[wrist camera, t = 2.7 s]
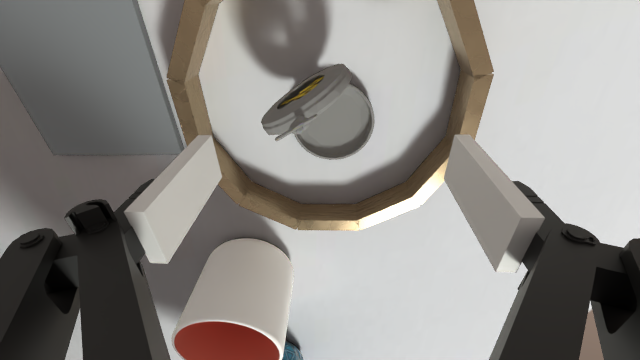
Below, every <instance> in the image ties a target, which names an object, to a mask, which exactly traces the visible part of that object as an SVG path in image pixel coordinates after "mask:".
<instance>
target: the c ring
mask: <svg viewBox="0 0 640 360" xmlns="http://www.w3.org/2000/svg"><path fill="white" fill-rule="evenodd" d="M222 1H223V0H185V1H184V5H183V10H182V14H181V18H180V22H179V27H178V31H177V35H176V39H175V44H174V48H173V52H172V56H171V61H170V65H169V69H168V73H167V78H169V79H168V80H167V83H168V86H169V89H170V92H171V96H172V99H173V102H174V105H175V109H176V112H177V115H178V118H179V122H180V125H181V128H182V131H183V135H184V138H185V141H186V144H187V146H188V145H189V144H190V143H191V142H192V141H193V140H194V139H195V138H196V137H197V136H198V135H212V139H213V143H214V147H215V151H216V155H217V159H218V163H219V167H220V171H221V174H222V178H221V180H220V181H219V183H218V185H219V186H220V187H221V188H222V189H223V190H224V191H225V192H226V193H227V194H228V195H229V197H230V198H231V199H232V200H233V201H234V202H235V203H236V204H238V203H239V206H241V207H243V208H246V209H248V210H251V211H253V212H255V213H258V214H260V215H262V216H265V217H267V218H270V219H272V220H274V221H277V222H279V223H281V224H284V225H286V226H288V227H291V228H293V229H297V227H298V230H359V228H360V230H362V229H365V228H367V227H370V226H372V225H374V224H377V223H379V222H382V221H384V220H387V219H389V218H392V217H394V216H397V215H399V214H401V213H404V212H406V211H409V210H411V209H414V208H416V207H419V204H421V205H422V204H423V203H424V202H425V201H426V200H427V199H428V197H429V196H430V195H431V194H432V193H433V192H434V191H435V190H436V189H437V188H438V187H439V186H440V185H441V184H442V183H443V182H444V181H445V180H444V175H445V171H446V167H447V163H448V159H449V155H450V151H451V147H452V143H453V139H454V135H470V136H471V137H472V138H473V139H474V140H475V137H476V133H477V130H478V127H479V123H480V120H481V116H482V113H483V109H484V106H485V103H486V99H487V96H488V92H489V89H490V85H491V82H492V79H493V75H494V74H492V72H494V70H493V67H492V63H491V60H490V56H489V53H488V49H487V46H486V42H485V39H484V35H483V31H482V28H481V24H480V21H479V17H478V14H477V10H476V7H475V3H474V0H437V1H438V4H439V7H440V10H441V13H442V16H443V19H444V22H445V25H446V28H447V31H448V34H449V37H450V40H451V43H452V46H453V49H454V52H455V54H456V57H457V60H458V63H459V66H460V69H461V70H460V75H459V79H458V84H457V88H456V92H455V97H454V101H453V105H452V110H451V114H450V119H449V123H448V127H447V132H446V136H445V137H444V138H443V139H442V141H441V142H440V143H439V144H438V145H437V146H436V148H435V149H434V150H433V151H432V152H431V153H430V155H429V156H428V157H427V158H426V159H425V160H424V161H423V163H422V164H421V165H420V166H419V167H418V168H417V170H416V171H415V172H414V173H413V174H412V175H411V177H410V178H409V179H408V180H407V181H406V182H404V183H402V184H400V185H397V186H395V187H393V188H391V189H388V190H386V191H384V192H382V193H379V194H377V195H375V196H373V197H370V198H368V199H366V200H364V201H361V202H359V203H357V204H301V203H298V202H296V201H294V200H292V199H289V198H287V197H285V196H283V195H281V194H278V193H276V192H274V191H272V190H269V189H267V188H265V187H263V186H260V185H258V184H256V183H254V182H252V181H251V180H250V179H249V178H248V177H247V175H246V174H245V173H244V172H243V171H242V170H241V168H240V167H239V166H238V165H237V164H236V163H235V162H234V160H233V159H232V158H231V157H230V156H229V155H228V154H227V152H226V151H225V150H224V149H223V148H222V147H221V145H220V144H219V143H218V142H217V141H216V140H215V139H214V136H213V132H212V128H211V124H210V120H209V116H208V112H207V108H206V104H205V100H204V96H203V92H202V88H201V84H200V80H199V76H198V74H199V70H200V67H201V63H202V60H203V57H204V53H205V50H206V46H207V43H208V40H209V36H210V33H211V29H212V26H213V23H214V19H215V16H216V12H217V9H218V5H219V3H221V2H222Z"/></svg>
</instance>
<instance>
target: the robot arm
mask: <svg viewBox="0 0 640 360" xmlns="http://www.w3.org/2000/svg"><path fill="white" fill-rule="evenodd" d="M221 178H222V174H221V171H220V167H219V163H218V159H217V155H216V151H215V147H214V143H213V139H212V135H198V136H197V137H196V138H195V139H194V140H193V141H192V142H191V143H190V144H189V145H188V146H187V147H186V148H185V149H184V150H183V151H182V152H181V153H180V154H179V155H178V156H177V157H176V158H175V159H174V160H173V161H172V163H171V164H170V165H169V166H168V167H167V168H166V169H165V170H164V171H163V172H162V173H161V174H160V175H159V176H158V177H157V178H156V179H151V180H150V181H148V182H146V183H145V184H143V185H141V186H140V187H139V188H138V189H137V190H136V191H135V193H134V194H132V195H131V196H130V197H129V199H127V200H126V201H125V202H124V203H123V204H122V205H121V206H120V207H119V208H118V209H117V210H116V211H115V212H114V213H113V211H112V209H111V207H110V205H109V204H108V202H107V201H105V200H92V201H88V202H85V203H82V204H80V205H77V206H76V207H74V208H72V209H71V210H70V211H69V212H68V213H67V214H66V216H65V220H66V221H67V223H68V224H69V226H70V227H71V229H72V230H73V232H74V233H75V234H73V235H68V236H63V237H58V236H57V234H56V233H55V232H54V231H53V230H52V229H48V228H44V229H37V230H34V231H30V232H28V233H26V234H23V235H21V236H20V237H19V238H17V239H16V240H14V241H13V242H12V243H11V244H10V245H9V246H8V248H7V249H6V251H5V252H4V254H3V255H2V257H1V258H0V360H65V357H66V353H67V350H68V347H69V343H70V340H71V336H72V333H73V330H74V326H75V323H76V319H77V316H78V313H79V309H80V312H81V330H82V348H83V360H171V359H170V356H169V353H168V349H167V346H166V343H165V339H164V336H163V333H162V329H161V326H160V323H159V319H158V316H157V313H156V309H155V306H154V303H153V299H152V296H151V293H150V289H149V286H148V283H147V279H146V276H145V273H144V269H143V266H142V264H141V262H140V259H141V258H142V257H143V255H144V254H146V256H147V258H148V260H149V262H150V263H166V264H168V263H169V261H170V260H171V258H172V256H173V255H174V253H175V252H176V250H177V248H178V247H179V245H180V244H181V242H182V240H183V239H184V237H185V236H186V234H187V232H188V231H189V229H190V228H191V226H192V224H193V223H194V221H195V220H196V218H197V216H198V215H199V213H200V212H201V210H202V208H203V207H204V205H205V204H206V202H207V200H208V199H209V197H210V196H211V194H212V192H213V191H214V189H215V188H216V186H217V184H218V183H219V181H220V180H221ZM444 180H445V182H446V184H447V185H448V187H449V189H450V191H451V193H452V194H453V196H454V198H455V200H456V202H457V203H458V205H459V207H460V209H461V211H462V212H463V214H464V216H465V218H466V220H467V221H468V223H469V225H470V227H471V228H472V230H473V232H474V234H475V236H476V237H477V239H478V241H479V243H480V245H481V246H482V248H483V250H484V252H485V254H486V255H487V257H488V259H489V261H490V263H491V264H492V266H493V268H494V270H495V272H513V273H516V272H517V270H518V268H519V267H520V265H521V263H522V262H523V263H524V265H525V266H526V268H527V269H528V271H527V273H526V275H525V277H524V278H523V280H522V282H521V284H520V286H519V287H518V290H519V291H518V293H517V295H516V298H515V300H514V302H513V305H512V307H511V309H510V312H509V314H508V316H507V319H506V321H505V323H504V326H503V328H502V330H501V333H500V335H499V337H498V340H497V342H496V344H495V347H494V349H493V352H492V354H491V356H490V359H489V360H579V356H580V350H581V345H582V340H583V334H584V329H585V324H586V319H587V314H588V309H589V303H590V301H591V305H592V309H593V313H594V318H595V323H596V327H597V331H598V336H599V340H600V344H601V349H602V353H603V357H604V360H640V238H638V239H632V240H631V241H629V242H628V244H627V245H626V246H625V247H624V248H622V247H617V246H612V245H608V244H603V243H600V242H599V240H598V239H597V238H596V237H595V236H594V235H593V234H592V233H590V232H589V231H587V230H585V229H583V228H581V227H578V226H575V225H571V224H565V223H564V222H563V221H562V220H561V219H560V218H559V217H558V216H557V215H556V214H555V213H554V212H553V211H552V210H551V209H550V208H549V207H548V206H547V205H546V204H544V202H543V201H542V200H541V199H540V198H539V197H538V196H537V195H536V193H535V192H534V191H533V190H532V189H531V188H529V187H528V186H526V185H524V184H523V183H521V182H519V181H511V180H510V179H509V178H508V176H507V175H506V174H505V173H504V172H503V171H502V170H501V169H500V168H499V167H498V165H497V164H496V163H495V162H494V161H493V160H492V159H491V158H490V157H489V156H488V154H487V153H486V152H485V151H484V150H483V149H482V148H481V147H480V146H479V144H478V143H477V142H476V141H475V140H474V139H473V138H472V137H471V136H470V135H454V139H453V143H452V147H451V151H450V155H449V159H448V163H447V167H446V171H445V175H444Z"/></svg>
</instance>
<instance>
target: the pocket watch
mask: <svg viewBox="0 0 640 360" xmlns="http://www.w3.org/2000/svg"><path fill="white" fill-rule="evenodd" d="M351 79H352V74H351V72H350V71H349V69H348V68H346V66H345V65H344V64H337V65H334V66H331V67H328V68H326V69H324V70H322V71H320V72H318V73H316V74H314V75H312V76H311V77H309V78H308V79H306V80H305V81H303V82H302V83H301V84H299V85H298V86H296V87H295V88H293V89H292V90H290V91H289V92H288V93H287V94H286V95H284V96H283V97H282V98H281V99H280V100H278V101H277V102H276V103H275V104H274V105H273V106H272V107H271V108H270V109H269V110H268V112H267V113H266V114H265V115H264V116H263V118H262V121H261V123H262V125H263V128H264V130H265V131H266V132H267V133H268V135H279V134H281V135H279V136H278V137H276V138H275V141H278V140H280V139H282V138H284V137H285V136H287V135H289V134H290V133H294V134H295V137H296V138H297V140H298V142H299V143H300V145H301V146H302V147H303V148H304V149H305V150H306V151H308V152H309V153H311V154H312V155H314V156H317V157H319V158H323V159H329V160H332V159H343V158H346V157H349V156H351V155H353V154H355V153H356V152H358V151H359V150H361V149H362V148H363V147H364V146H365V145H366V143H367V142H368V140H369V139H370V136H371V134H372V132H373V127H374V113H373V109H372V106H371V103H370V101H369V100H368V98H367V97H366V96H365V94H364V93H363V92H362V91H361V90H359V89H358V88H357V87H355V86H354V85H351V84H350V81H351Z"/></svg>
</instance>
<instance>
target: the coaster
mask: <svg viewBox="0 0 640 360" xmlns="http://www.w3.org/2000/svg"><path fill="white" fill-rule="evenodd" d="M0 67H1V68H2V70H3V72H4V73H5V75H6V77H7V78H8V80H9V82H10V83H11V85H12V87H13V88H14V90H15V92H16V93H17V95H18V97H19V98H20V100H21V102H22V103H23V105H24V107H25V108H26V110H27V112H28V113H29V115H30V117H31V118H32V120H33V122H34V123H35V125H36V127H37V128H38V130H39V132H40V133H41V135H42V137H43V138H44V140H45V142H46V143H47V145H48V147H49V148H50V150H51V152H52V153H53V155H177V154H180V153H181V152H182V151H183V150H184V147H183V144H182V141H181V138H180V135H179V131H178V128H177V125H176V122H175V119H174V116H173V113H172V109H171V106H170V103H169V100H168V97H167V94H166V90H165V87H164V84H163V81H162V78H161V75H160V71H159V68H158V65H157V62H156V59H155V56H154V53H153V49H152V46H151V43H150V40H149V37H148V34H147V30H146V27H145V24H144V21H143V18H142V15H141V11H140V8H139V5H138V2H137V0H0Z"/></svg>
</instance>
